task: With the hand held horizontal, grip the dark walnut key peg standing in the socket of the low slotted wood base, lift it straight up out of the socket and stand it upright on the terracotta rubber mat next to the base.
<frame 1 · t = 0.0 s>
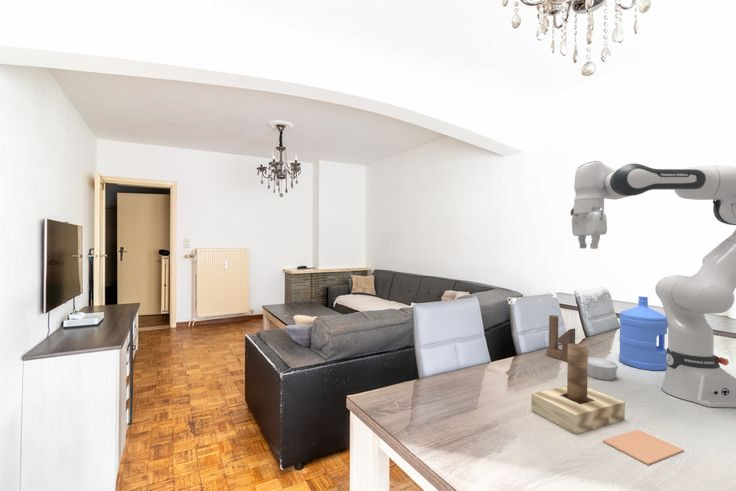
hand: (588, 248, 122), 48 cm above the table, tool pointing down, fingers open, 8 cm apart
walnut key peg: (576, 415, 101), resting in slotted wood base
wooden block: (560, 359, 151), on the table
terracotta mat: (642, 446, 85), on the table
ramekin: (599, 376, 132), on the table
water jug: (642, 364, 145), on the table
slotted wood base: (576, 414, 101), on the table
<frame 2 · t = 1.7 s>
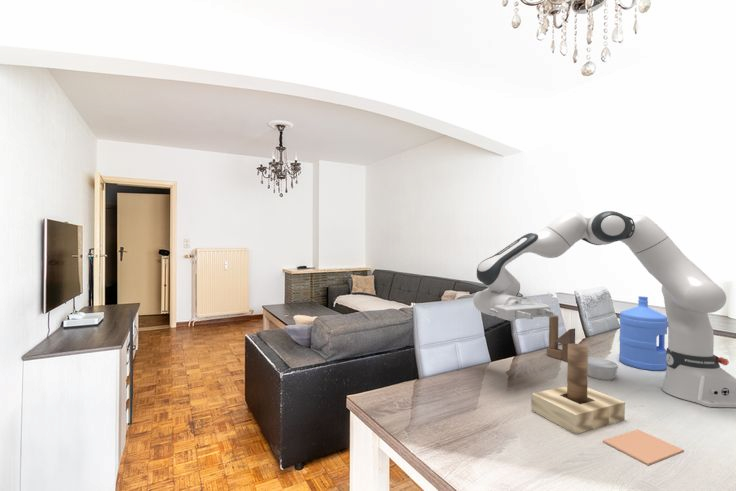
hand: (542, 315, 112), 26 cm above the table, tool horizontal, fingers open, 8 cm apart
nothing on the table moved.
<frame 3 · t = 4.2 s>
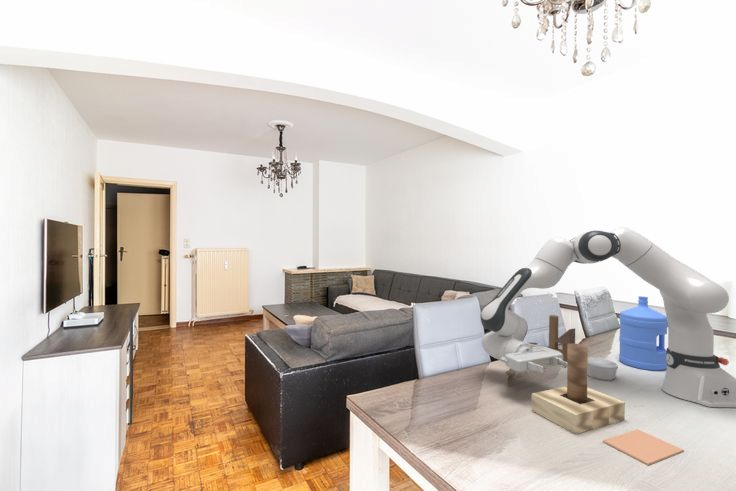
hand: (555, 367, 108), 11 cm above the table, tool horizontal, fingers open, 8 cm apart
nothing on the table moved.
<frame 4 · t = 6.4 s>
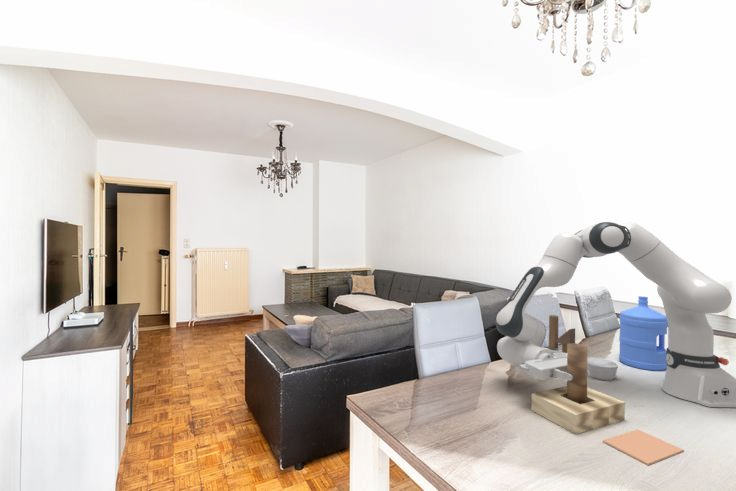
hand: (580, 376, 100), 12 cm above the table, tool horizontal, fingers closed on walnut key peg, 5 cm apart
walnut key peg: (576, 414, 101), resting in slotted wood base, touching gripper
everything else where it was.
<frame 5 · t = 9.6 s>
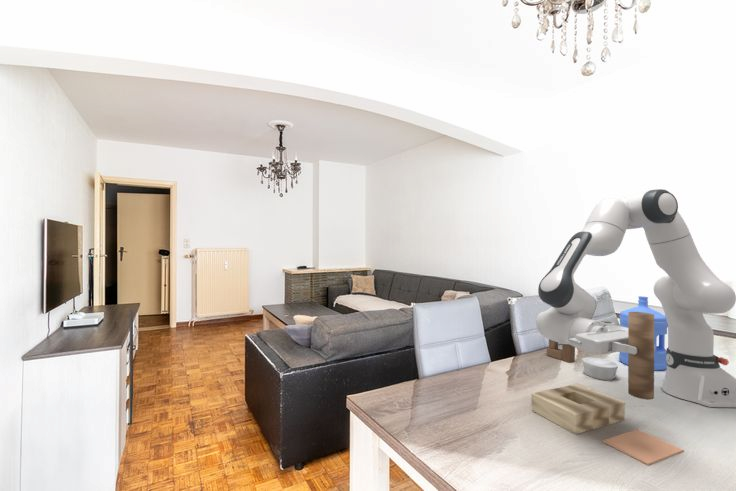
hand: (645, 349, 85), 24 cm above the table, tool horizontal, fingers closed on walnut key peg, 5 cm apart
walnut key peg: (640, 395, 86), point 12 cm above the table, touching gripper
everything else where it was.
when the fingers open (13 cm above the table, at t = 12.8 s): walnut key peg drops 1 cm, resting on terracotta mat.
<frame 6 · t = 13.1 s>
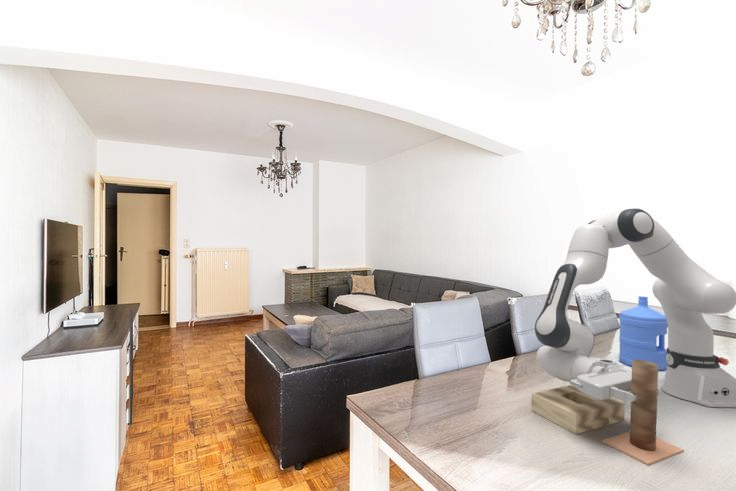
hand: (647, 395, 84), 13 cm above the table, tool horizontal, fingers open, 8 cm apart
walnut key peg: (642, 444, 85), resting on terracotta mat
everything else where it was.
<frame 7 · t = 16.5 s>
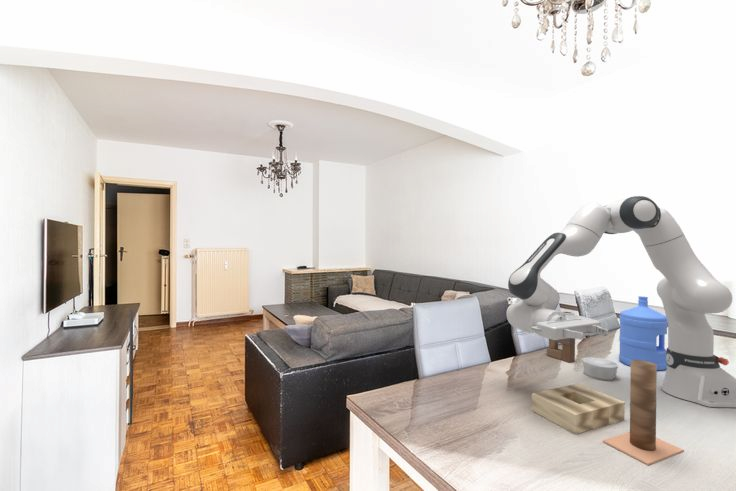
hand: (595, 334, 96), 24 cm above the table, tool horizontal, fingers open, 8 cm apart
nothing on the table moved.
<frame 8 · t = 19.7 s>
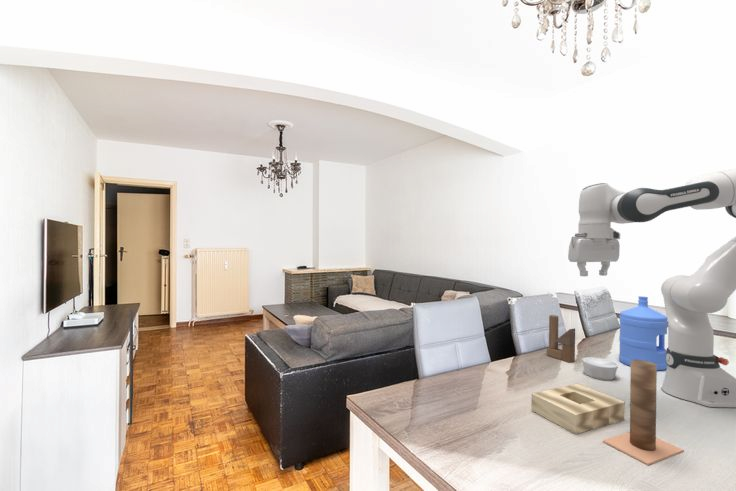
hand: (593, 275, 114), 39 cm above the table, tool pointing down, fingers open, 8 cm apart
nothing on the table moved.
at the end: walnut key peg inside the target area on the terracotta mat (0.0 cm from its centre), point 0.4 cm above the terracotta mat's base; walnut key peg tilted 0°; the gripper is holding nothing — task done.
